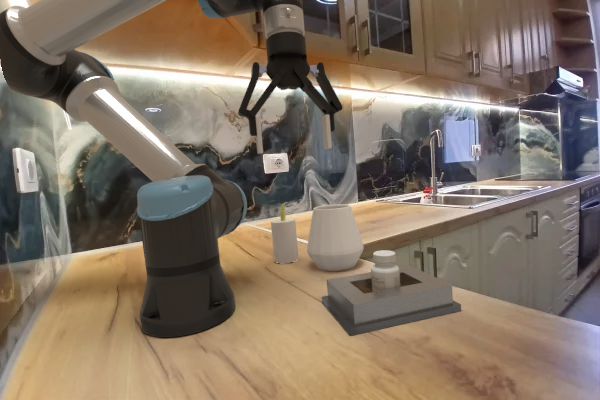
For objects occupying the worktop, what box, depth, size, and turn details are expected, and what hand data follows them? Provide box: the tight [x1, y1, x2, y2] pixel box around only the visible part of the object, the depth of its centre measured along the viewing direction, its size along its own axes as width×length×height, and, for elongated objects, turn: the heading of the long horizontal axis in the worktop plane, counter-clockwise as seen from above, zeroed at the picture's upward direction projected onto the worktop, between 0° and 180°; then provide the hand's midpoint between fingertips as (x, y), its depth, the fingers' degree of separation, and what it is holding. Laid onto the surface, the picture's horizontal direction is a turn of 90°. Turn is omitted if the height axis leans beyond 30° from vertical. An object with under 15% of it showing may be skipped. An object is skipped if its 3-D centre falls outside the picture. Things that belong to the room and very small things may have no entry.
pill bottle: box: [370, 249, 400, 292], centre depth 51 cm, size 4×4×8 cm
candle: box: [270, 203, 299, 264], centre depth 82 cm, size 6×6×15 cm
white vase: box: [306, 203, 365, 272], centre depth 75 cm, size 13×13×14 cm
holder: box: [321, 264, 462, 337], centre depth 51 cm, size 18×12×4 cm, turn 105°
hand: (294, 151), depth 62 cm, fingers open, 13 cm apart
